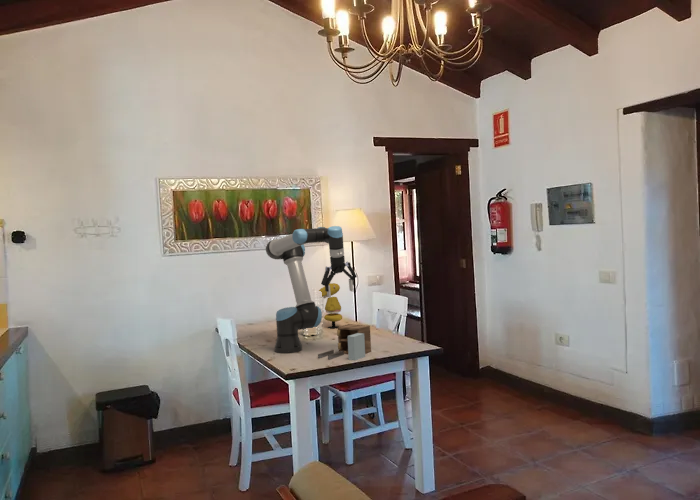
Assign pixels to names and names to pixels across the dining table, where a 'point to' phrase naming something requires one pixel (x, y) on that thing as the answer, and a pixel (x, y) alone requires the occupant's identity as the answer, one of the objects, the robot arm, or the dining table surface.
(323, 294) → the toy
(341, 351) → the cabinet
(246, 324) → the dining table surface
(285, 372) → the dining table surface
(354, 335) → the grey rectangular block
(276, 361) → the dining table surface
